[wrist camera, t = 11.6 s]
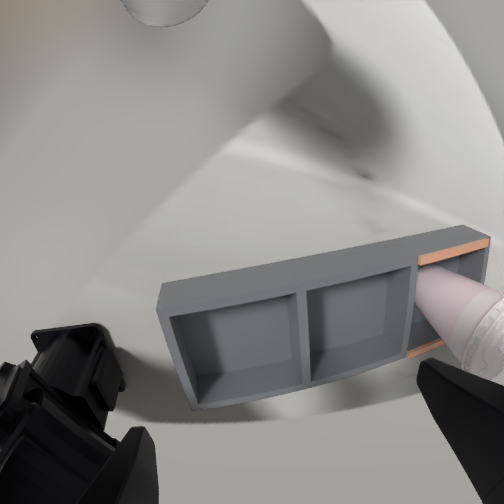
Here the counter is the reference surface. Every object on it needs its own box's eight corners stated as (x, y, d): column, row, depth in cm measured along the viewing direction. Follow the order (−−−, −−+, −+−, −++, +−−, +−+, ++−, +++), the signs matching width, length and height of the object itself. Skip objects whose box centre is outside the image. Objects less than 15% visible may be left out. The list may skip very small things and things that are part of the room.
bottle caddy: (191, 379, 23) (192, 413, 20) (161, 283, 20) (155, 312, 17) (454, 309, 26) (478, 328, 22) (466, 224, 23) (495, 237, 19)
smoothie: (402, 248, 22) (546, 349, 9) (458, 246, 23) (585, 322, 10) (387, 322, 24) (492, 441, 11) (442, 312, 25) (543, 404, 12)
